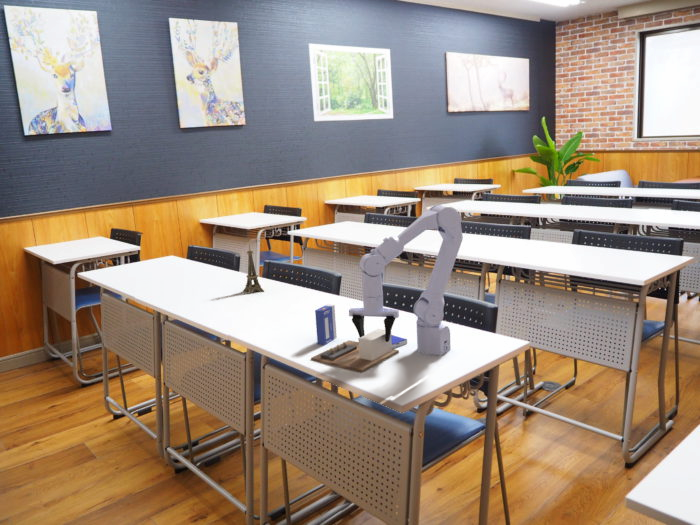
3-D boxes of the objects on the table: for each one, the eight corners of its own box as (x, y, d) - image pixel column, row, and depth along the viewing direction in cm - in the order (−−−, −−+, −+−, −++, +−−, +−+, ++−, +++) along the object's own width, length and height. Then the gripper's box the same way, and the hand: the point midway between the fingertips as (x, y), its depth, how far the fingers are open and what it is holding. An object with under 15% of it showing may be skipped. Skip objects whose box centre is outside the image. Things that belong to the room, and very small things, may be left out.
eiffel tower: (260, 293, 257) (256, 238, 252) (270, 298, 248) (265, 241, 243) (238, 297, 251) (233, 241, 247) (246, 302, 242) (241, 244, 238)
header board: (398, 352, 171) (398, 342, 170) (362, 372, 157) (361, 361, 156) (349, 342, 182) (348, 332, 182) (311, 360, 169) (310, 349, 168)
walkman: (325, 346, 180) (322, 309, 178) (317, 345, 181) (314, 309, 179) (337, 339, 187) (335, 303, 185) (330, 338, 188) (327, 302, 186)
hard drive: (361, 337, 182) (388, 345, 173) (379, 330, 187) (407, 338, 178) (361, 341, 183) (388, 350, 173) (379, 335, 188) (407, 343, 178)
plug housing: (391, 350, 171) (391, 331, 170) (372, 360, 163) (371, 340, 162) (379, 347, 174) (378, 328, 172) (359, 357, 166) (358, 338, 165)
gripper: (400, 292, 166) (402, 336, 169) (352, 291, 171) (355, 334, 173) (394, 298, 160) (396, 344, 162) (345, 297, 164) (348, 342, 167)
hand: (374, 340), depth 167 cm, fingers open, 7 cm apart
